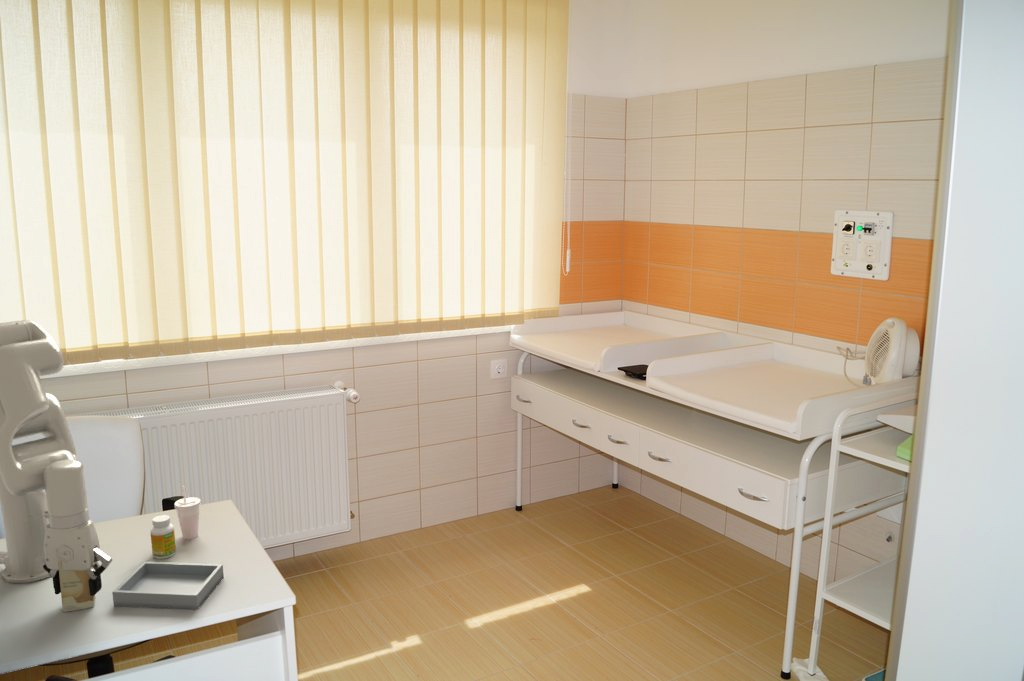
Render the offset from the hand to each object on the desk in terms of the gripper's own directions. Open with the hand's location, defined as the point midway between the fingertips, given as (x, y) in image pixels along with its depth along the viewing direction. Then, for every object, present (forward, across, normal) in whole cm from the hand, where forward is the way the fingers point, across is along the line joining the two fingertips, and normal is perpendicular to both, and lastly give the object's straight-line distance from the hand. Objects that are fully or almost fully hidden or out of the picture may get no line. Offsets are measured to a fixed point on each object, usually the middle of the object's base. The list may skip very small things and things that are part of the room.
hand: (78, 591), depth 172 cm
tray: (+3, +17, +7) cm, 19 cm away
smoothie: (+4, +9, +34) cm, 35 cm away
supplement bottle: (+4, +7, +24) cm, 25 cm away
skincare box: (+4, 0, 0) cm, 4 cm away
